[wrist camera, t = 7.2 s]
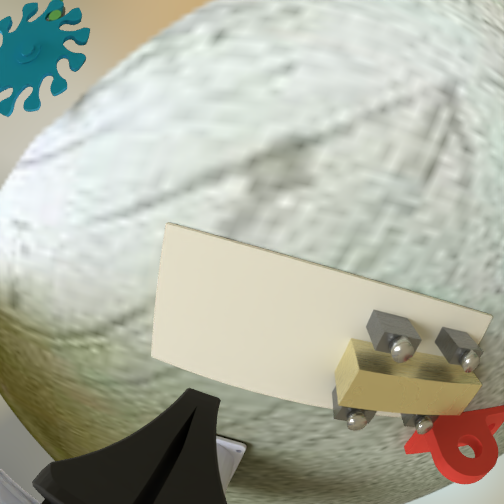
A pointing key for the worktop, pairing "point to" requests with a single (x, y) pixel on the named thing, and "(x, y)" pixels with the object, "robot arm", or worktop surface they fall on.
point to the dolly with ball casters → (402, 349)
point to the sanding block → (402, 382)
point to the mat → (277, 316)
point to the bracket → (461, 443)
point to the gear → (38, 53)
